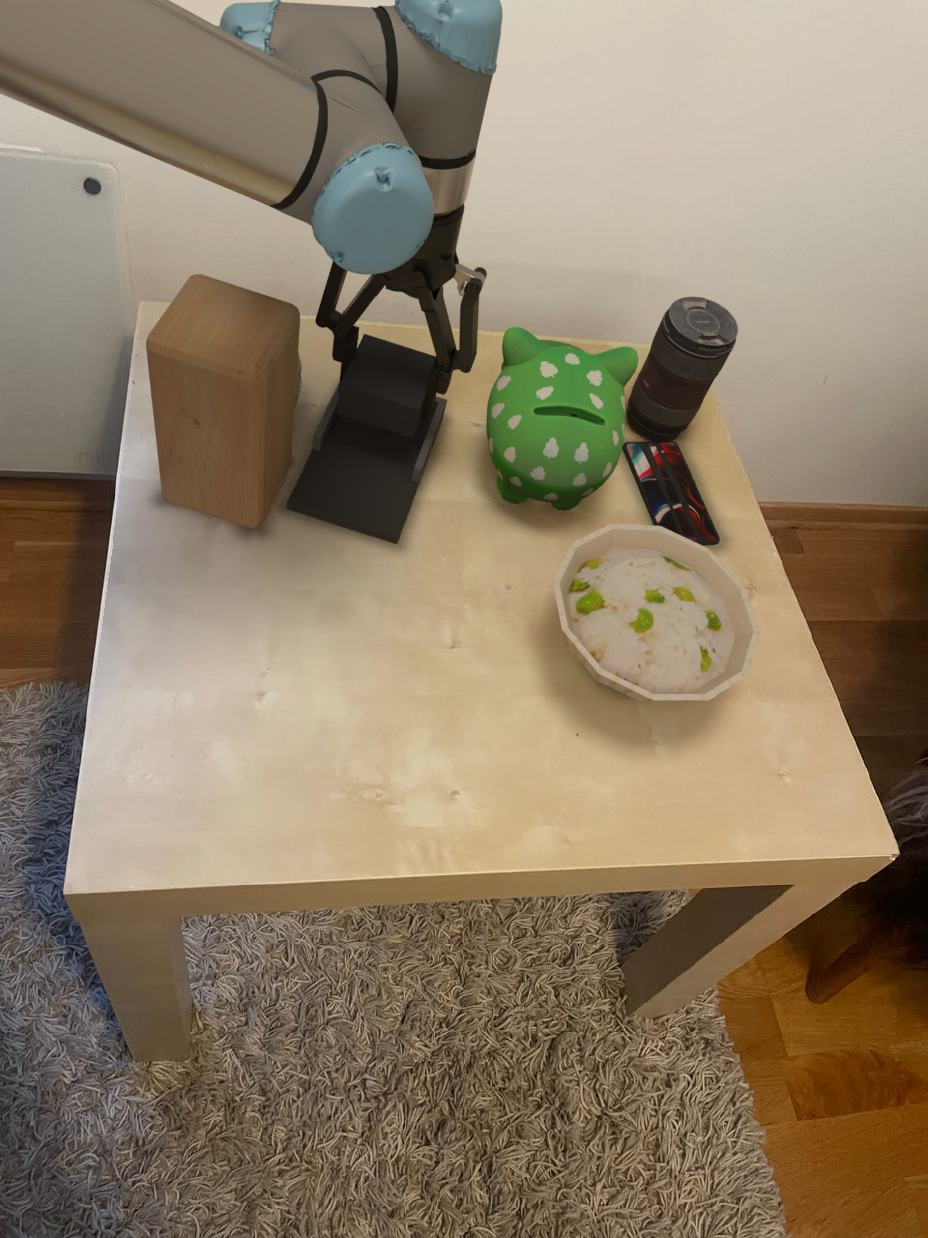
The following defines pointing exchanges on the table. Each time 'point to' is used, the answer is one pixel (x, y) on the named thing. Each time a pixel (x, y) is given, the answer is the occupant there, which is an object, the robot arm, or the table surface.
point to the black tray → (364, 472)
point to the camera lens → (680, 367)
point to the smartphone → (670, 490)
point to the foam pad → (385, 385)
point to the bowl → (654, 614)
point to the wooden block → (224, 398)
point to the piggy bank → (556, 418)
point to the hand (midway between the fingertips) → (386, 398)
